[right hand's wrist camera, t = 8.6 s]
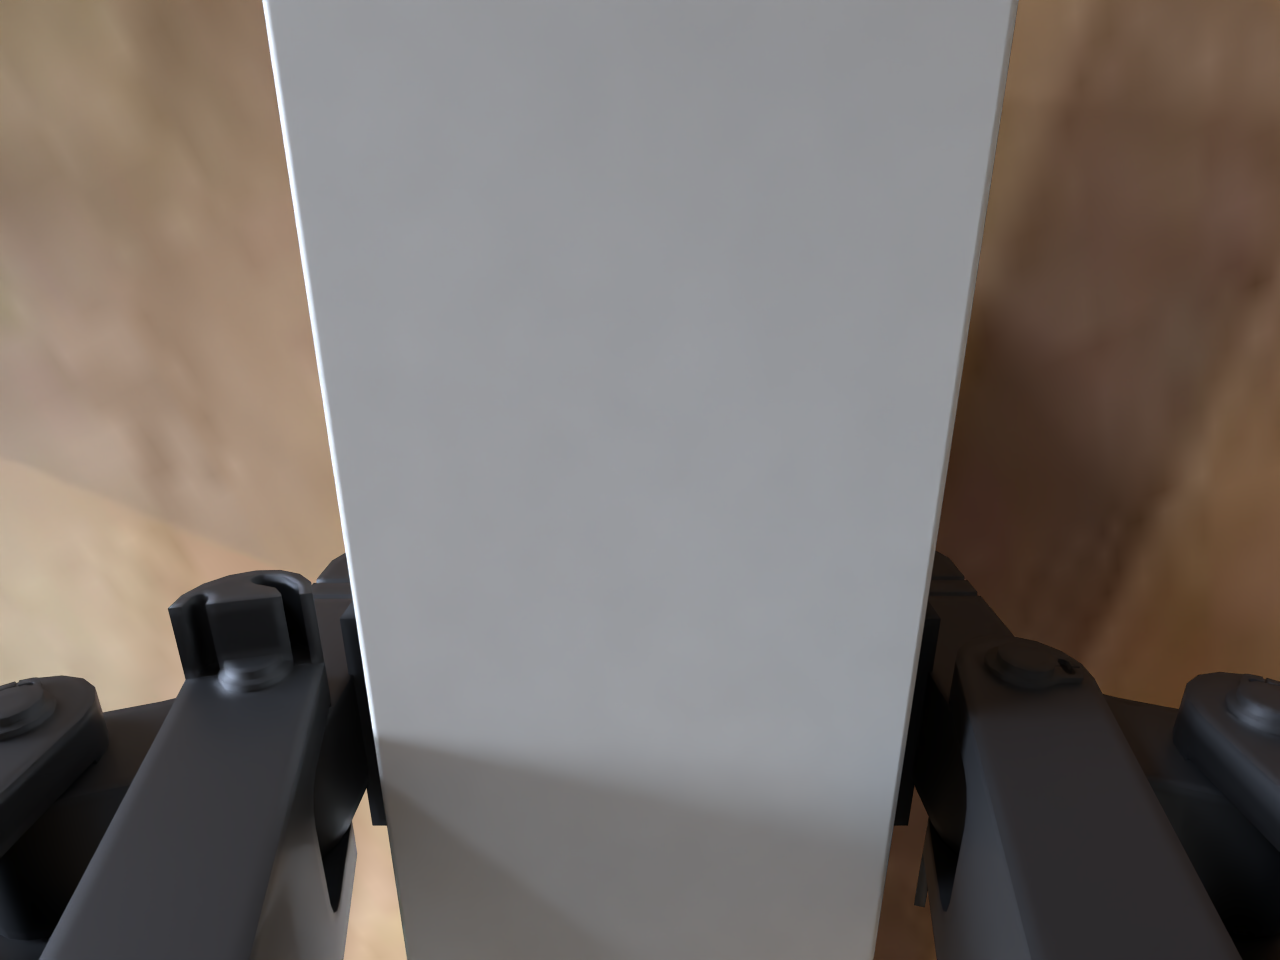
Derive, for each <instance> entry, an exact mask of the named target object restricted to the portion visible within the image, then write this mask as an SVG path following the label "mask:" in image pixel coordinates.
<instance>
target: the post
mask: <svg viewBox="0 0 1280 960" xmlns="http://www.w3.org/2000/svg"><path fill="white" fill-rule="evenodd" d="M262 1H263V7H264V14H265V21H266V27H267V34H268V40H269V47H270V54H271V60H272V67H273V74H274V80H275V87H276V93H277V100H278V107H279V113H280V120H281V127H282V133H283V140H284V146H285V153H286V160H287V166H288V173H289V180H290V186H291V193H292V199H293V206H294V213H295V219H296V226H297V232H298V239H299V246H300V252H301V259H302V266H303V272H304V279H305V285H306V292H307V299H308V305H309V312H310V319H311V325H312V332H313V338H314V345H315V352H316V358H317V365H318V372H319V378H320V385H321V391H322V398H323V405H324V411H325V418H326V425H327V431H328V438H329V444H330V451H331V458H332V464H333V471H334V477H335V484H336V491H337V497H338V504H339V511H340V517H341V524H342V530H343V537H344V544H345V550H346V557H347V564H348V570H349V577H350V583H351V590H352V597H353V603H354V610H355V617H356V623H357V630H358V636H359V643H360V650H361V656H362V663H363V670H364V676H365V683H366V689H367V696H368V703H369V709H370V716H371V722H372V729H373V736H374V742H375V749H376V756H377V762H378V769H379V775H380V782H381V789H382V795H383V802H384V809H385V815H386V822H387V828H388V835H389V842H390V848H391V855H392V862H393V868H394V875H395V881H396V888H397V895H398V901H399V908H400V915H401V921H402V928H403V934H404V941H405V948H406V954H407V960H873V958H874V952H875V945H876V939H877V932H878V925H879V919H880V912H881V906H882V899H883V892H884V886H885V879H886V873H887V866H888V859H889V853H890V846H891V840H892V833H893V826H894V820H895V813H896V807H897V800H898V793H899V787H900V780H901V774H902V767H903V760H904V754H905V747H906V741H907V734H908V727H909V721H910V714H911V708H912V701H913V694H914V688H915V681H916V675H917V668H918V661H919V655H920V648H921V641H922V635H923V628H924V622H925V615H926V608H927V602H928V595H929V589H930V582H931V575H932V569H933V562H934V556H935V549H936V542H937V536H938V529H939V523H940V516H941V509H942V503H943V496H944V490H945V483H946V476H947V470H948V463H949V457H950V450H951V443H952V437H953V430H954V424H955V417H956V410H957V404H958V397H959V391H960V384H961V377H962V371H963V364H964V357H965V351H966V344H967V338H968V331H969V324H970V318H971V311H972V305H973V298H974V291H975V285H976V278H977V272H978V265H979V258H980V252H981V245H982V239H983V232H984V225H985V219H986V212H987V206H988V199H989V192H990V186H991V179H992V173H993V166H994V159H995V153H996V146H997V140H998V133H999V126H1000V120H1001V113H1002V107H1003V100H1004V93H1005V87H1006V80H1007V73H1008V67H1009V60H1010V54H1011V47H1012V40H1013V34H1014V27H1015V21H1016V14H1017V7H1018V1H1019V0H262Z"/></svg>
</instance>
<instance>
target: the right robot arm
mask: <svg viewBox="0 0 1280 960" xmlns="http://www.w3.org/2000/svg"><path fill="white" fill-rule="evenodd" d="M168 611H169V615H170V619H171V623H172V627H173V631H174V635H175V639H176V643H177V647H178V651H179V655H180V659H181V663H182V667H183V671H184V675H185V679H186V680H185V682H184V684H183V686H182V688H181V690H180V692H179V694H178V696H177V697H176V698H174V699H170V700H166V701H162V702H157V703H151V704H146V705H141V706H135V707H130V708H125V709H119V710H114V711H109V712H102V709H101V706H100V702H99V699H98V696H97V692H96V689H95V687H94V686H93V685H91V684H90V683H89V682H87V681H86V680H85V679H83V678H76V677H69V676H53V677H43V678H29V679H24V680H19V682H18V683H16V682H12V683H9V684H5V685H2V686H0V960H343V959H344V951H345V943H346V936H347V928H348V920H349V912H350V905H351V897H352V889H353V882H354V874H355V866H356V859H357V849H356V842H355V836H354V830H353V824H352V819H353V816H354V814H355V812H356V810H357V808H358V806H359V803H360V801H361V799H362V797H363V795H364V792H365V790H366V788H367V793H368V800H369V806H370V812H371V818H372V825H387V822H386V815H385V809H384V802H383V795H382V789H381V782H380V775H379V769H378V762H377V756H376V749H375V742H374V736H373V729H372V722H371V716H370V709H369V703H368V696H367V689H366V683H365V676H364V670H363V663H362V656H361V650H360V643H359V636H358V630H357V623H356V617H355V610H354V603H353V597H352V590H351V583H350V577H349V570H348V564H347V557H346V553H344V554H343V555H341V556H339V557H338V558H336V559H334V560H332V561H331V563H330V564H329V565H328V566H327V567H326V569H325V570H324V571H323V572H322V573H321V575H320V576H319V577H318V578H317V583H313V584H312V585H311V582H310V581H309V580H308V579H306V578H305V577H303V576H302V575H300V574H297V573H292V572H288V571H283V570H258V571H251V572H245V573H239V574H234V575H229V576H226V577H223V578H220V579H217V580H214V581H210V582H207V583H204V584H202V585H200V586H198V587H197V588H195V589H193V590H191V591H189V592H187V593H185V594H183V595H182V596H181V597H180V598H178V599H177V600H176V601H175V602H174V603H173V604H172V605H171V606H170V607H169V608H168ZM914 785H915V787H916V790H917V792H918V794H919V796H920V798H921V800H922V803H923V805H924V807H925V809H926V811H927V813H928V816H929V818H928V824H927V830H926V836H925V842H924V848H923V853H922V859H921V865H920V871H919V877H918V883H917V888H916V895H915V902H914V905H916V906H921V907H925V902H926V897H927V892H928V895H929V903H930V911H931V918H932V926H933V934H934V941H935V949H936V957H937V960H1280V682H1279V681H1276V680H1272V679H1269V678H1267V679H1263V677H1261V676H1256V675H1251V674H1235V673H1225V672H1216V673H1209V674H1202V675H1198V676H1196V677H1195V678H1194V679H1192V680H1191V681H1190V682H1188V683H1187V685H1186V688H1185V691H1184V694H1183V698H1182V701H1181V704H1180V708H1179V709H1175V708H1169V707H1164V706H1159V705H1153V704H1148V703H1143V702H1137V701H1132V700H1127V699H1121V698H1117V697H1113V696H1108V695H1104V694H1102V692H1101V690H1100V688H1099V687H1098V685H1097V683H1096V681H1095V679H1094V678H1093V677H1092V675H1091V674H1090V673H1089V672H1088V671H1087V670H1086V669H1085V667H1084V666H1083V665H1082V664H1081V663H1079V662H1078V661H1076V660H1074V659H1073V658H1071V657H1070V656H1068V655H1067V654H1065V653H1063V652H1062V651H1060V650H1057V649H1055V648H1052V647H1049V646H1047V645H1044V644H1042V643H1039V642H1037V641H1032V640H1027V639H1022V638H1018V637H1014V636H1013V634H1012V633H1011V632H1010V631H1009V630H1008V628H1007V627H1006V626H1005V625H1004V624H1003V622H1002V621H1001V620H1000V619H999V618H998V616H997V615H996V614H995V613H994V612H993V610H992V609H991V608H990V607H989V606H988V604H987V603H986V602H985V601H984V600H983V598H982V597H981V596H977V591H976V590H975V589H974V588H973V586H972V585H971V584H970V583H969V582H968V580H964V576H963V574H962V573H961V572H960V571H959V570H958V568H957V567H956V566H955V565H954V564H953V562H952V561H951V560H950V559H949V558H948V557H946V556H944V555H943V554H941V553H939V552H937V551H936V550H935V556H934V562H933V569H932V575H931V582H930V589H929V595H928V602H927V608H926V615H925V622H924V628H923V635H922V641H921V648H920V655H919V661H918V668H917V675H916V681H915V688H914V694H913V701H912V708H911V714H910V721H909V727H908V734H907V741H906V747H905V754H904V760H903V767H902V774H901V780H900V787H899V793H898V800H897V807H896V813H895V820H894V825H908V821H909V815H910V809H911V803H912V796H913V790H914Z"/></svg>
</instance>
